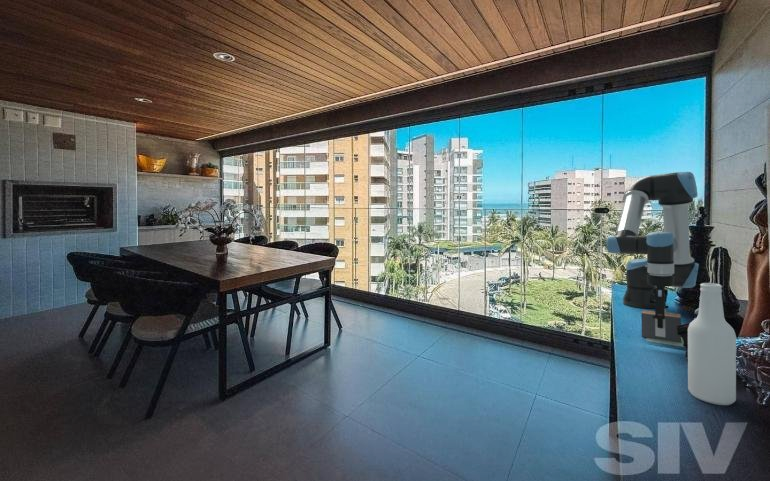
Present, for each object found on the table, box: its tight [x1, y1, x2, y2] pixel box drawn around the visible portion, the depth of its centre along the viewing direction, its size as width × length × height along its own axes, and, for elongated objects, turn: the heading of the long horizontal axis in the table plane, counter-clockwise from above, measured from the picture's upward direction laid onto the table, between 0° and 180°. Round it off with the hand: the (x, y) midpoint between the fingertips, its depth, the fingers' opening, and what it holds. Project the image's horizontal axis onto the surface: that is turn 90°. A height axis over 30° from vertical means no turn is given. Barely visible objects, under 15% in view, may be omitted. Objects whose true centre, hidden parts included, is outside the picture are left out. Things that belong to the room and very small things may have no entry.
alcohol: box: [687, 282, 737, 406], centre depth 83 cm, size 9×9×30 cm
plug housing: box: [640, 309, 682, 343], centre depth 119 cm, size 5×11×9 cm, turn 48°
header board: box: [645, 337, 685, 350], centre depth 122 cm, size 20×13×5 cm, turn 138°
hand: (661, 330), depth 120 cm, fingers open, 13 cm apart
